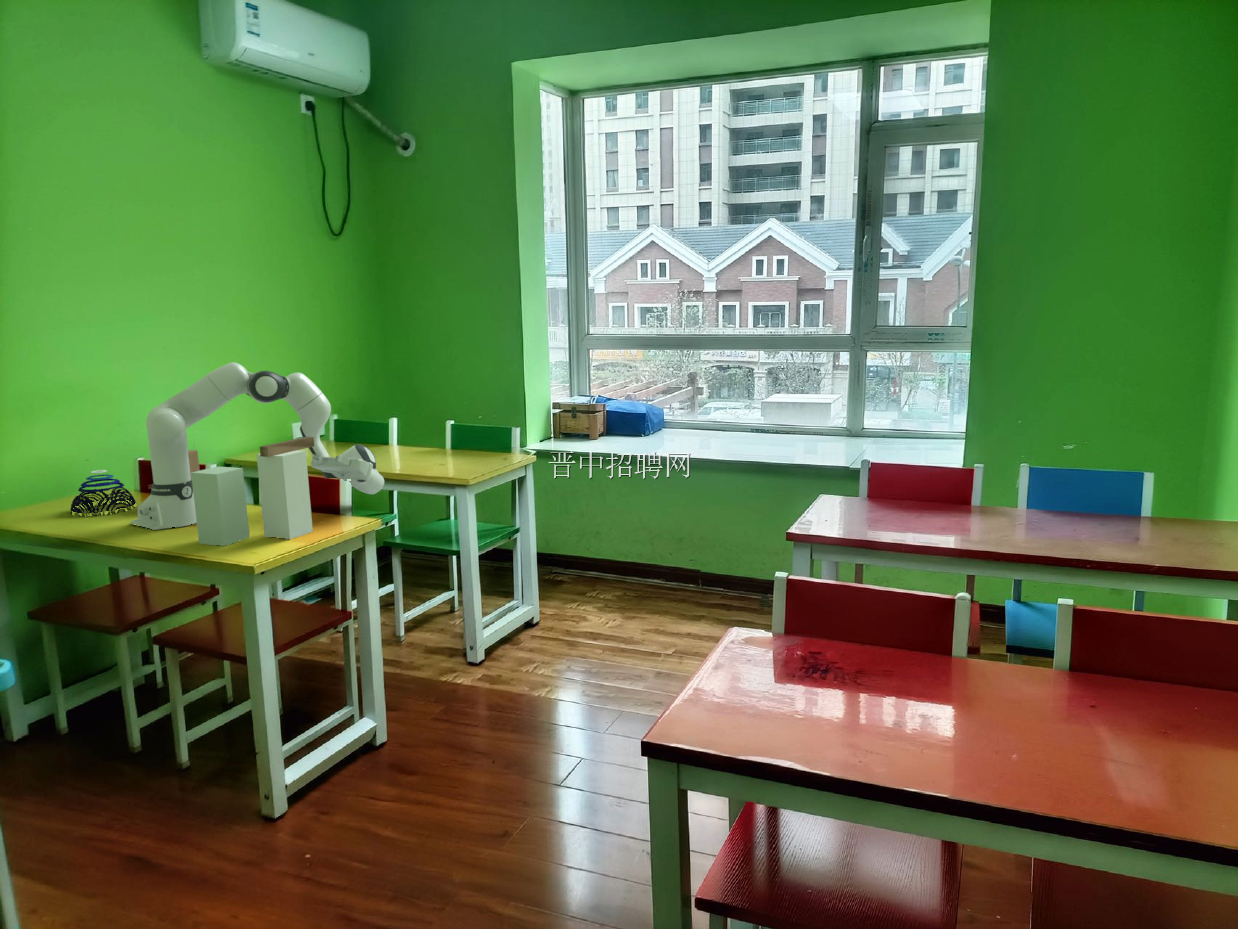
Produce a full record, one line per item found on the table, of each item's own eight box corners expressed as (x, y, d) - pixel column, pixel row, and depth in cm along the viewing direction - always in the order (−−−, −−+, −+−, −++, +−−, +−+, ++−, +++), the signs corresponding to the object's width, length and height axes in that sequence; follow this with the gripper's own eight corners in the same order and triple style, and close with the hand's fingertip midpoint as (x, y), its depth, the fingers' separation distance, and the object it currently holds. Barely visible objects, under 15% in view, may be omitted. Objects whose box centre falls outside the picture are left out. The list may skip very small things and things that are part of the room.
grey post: (264, 537, 262) (256, 454, 257) (287, 529, 271) (280, 449, 266) (290, 539, 258) (282, 456, 253) (312, 531, 267) (305, 450, 263)
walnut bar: (260, 456, 254) (259, 446, 253) (306, 445, 272) (306, 436, 272) (268, 456, 253) (267, 446, 252) (314, 446, 271) (313, 437, 271)
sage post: (199, 543, 256) (191, 472, 252) (225, 535, 265) (217, 466, 261) (224, 546, 252) (216, 474, 248) (249, 537, 261) (242, 468, 257)
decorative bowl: (58, 514, 298) (52, 474, 296) (113, 502, 316) (108, 464, 313) (93, 519, 290) (87, 478, 287) (147, 506, 307) (143, 468, 304)
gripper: (328, 461, 295) (303, 447, 283) (377, 464, 288) (352, 449, 276) (323, 478, 294) (297, 464, 281) (372, 481, 286) (347, 467, 274)
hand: (325, 457), depth 279 cm, fingers open, 8 cm apart
